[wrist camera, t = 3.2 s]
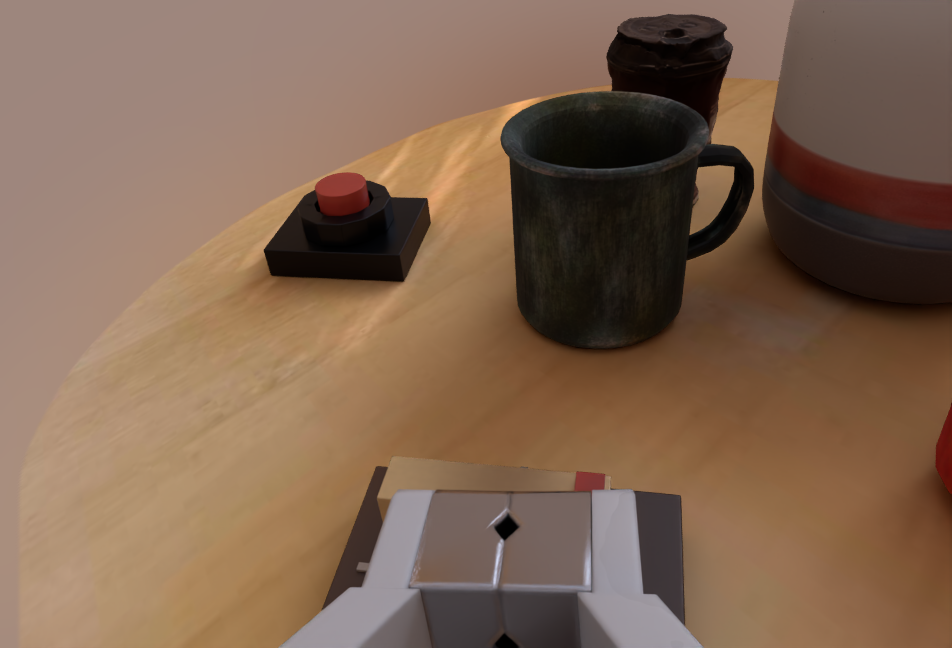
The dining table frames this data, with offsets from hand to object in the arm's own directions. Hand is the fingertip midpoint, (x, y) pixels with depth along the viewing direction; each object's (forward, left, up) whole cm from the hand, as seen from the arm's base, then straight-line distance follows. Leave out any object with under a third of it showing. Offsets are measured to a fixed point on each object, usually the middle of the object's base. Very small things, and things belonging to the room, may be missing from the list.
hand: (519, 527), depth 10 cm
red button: (-19, +39, -17) cm, 47 cm away
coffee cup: (+3, +48, -21) cm, 52 cm away
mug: (+1, +34, -21) cm, 40 cm away
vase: (+18, +41, -21) cm, 49 cm away
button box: (-19, +39, -21) cm, 48 cm away
